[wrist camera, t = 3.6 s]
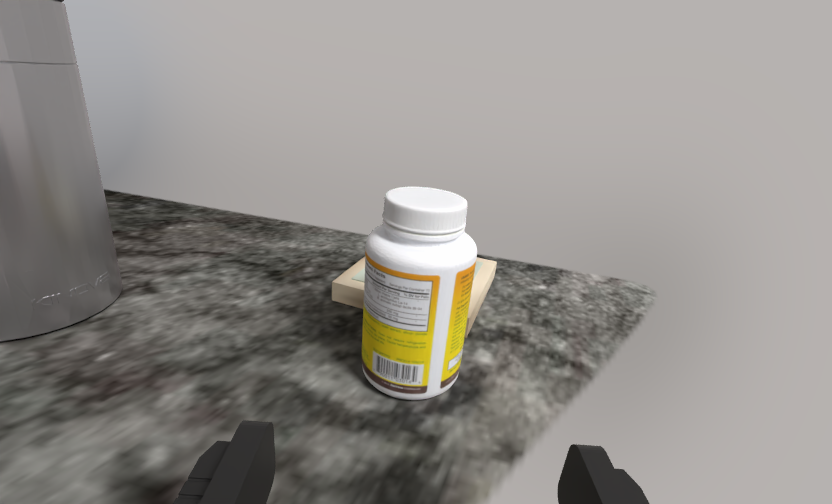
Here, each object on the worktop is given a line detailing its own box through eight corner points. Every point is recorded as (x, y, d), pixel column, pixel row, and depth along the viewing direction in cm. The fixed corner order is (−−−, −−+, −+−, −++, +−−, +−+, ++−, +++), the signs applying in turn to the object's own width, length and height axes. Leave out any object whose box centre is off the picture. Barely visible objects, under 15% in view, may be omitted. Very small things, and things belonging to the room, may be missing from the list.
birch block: (331, 300, 30) (332, 280, 30) (387, 253, 39) (388, 237, 38) (466, 337, 27) (469, 316, 27) (494, 277, 36) (497, 260, 36)
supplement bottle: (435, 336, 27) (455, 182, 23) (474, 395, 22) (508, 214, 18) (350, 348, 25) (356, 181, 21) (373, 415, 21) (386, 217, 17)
